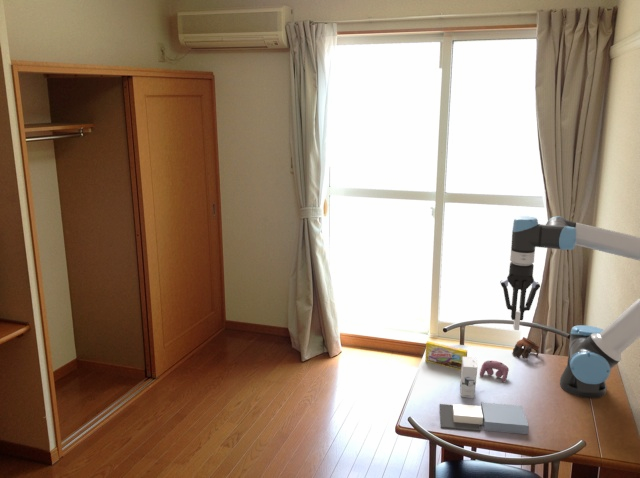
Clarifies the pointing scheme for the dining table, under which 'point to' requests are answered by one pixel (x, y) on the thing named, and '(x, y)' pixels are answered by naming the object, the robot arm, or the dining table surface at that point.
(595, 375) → the robot arm
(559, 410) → the dining table surface
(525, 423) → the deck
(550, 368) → the dining table surface
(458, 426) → the mat
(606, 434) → the dining table surface
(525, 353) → the brown animal figurine
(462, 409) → the tile
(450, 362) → the candy box
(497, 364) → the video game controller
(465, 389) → the ink box
